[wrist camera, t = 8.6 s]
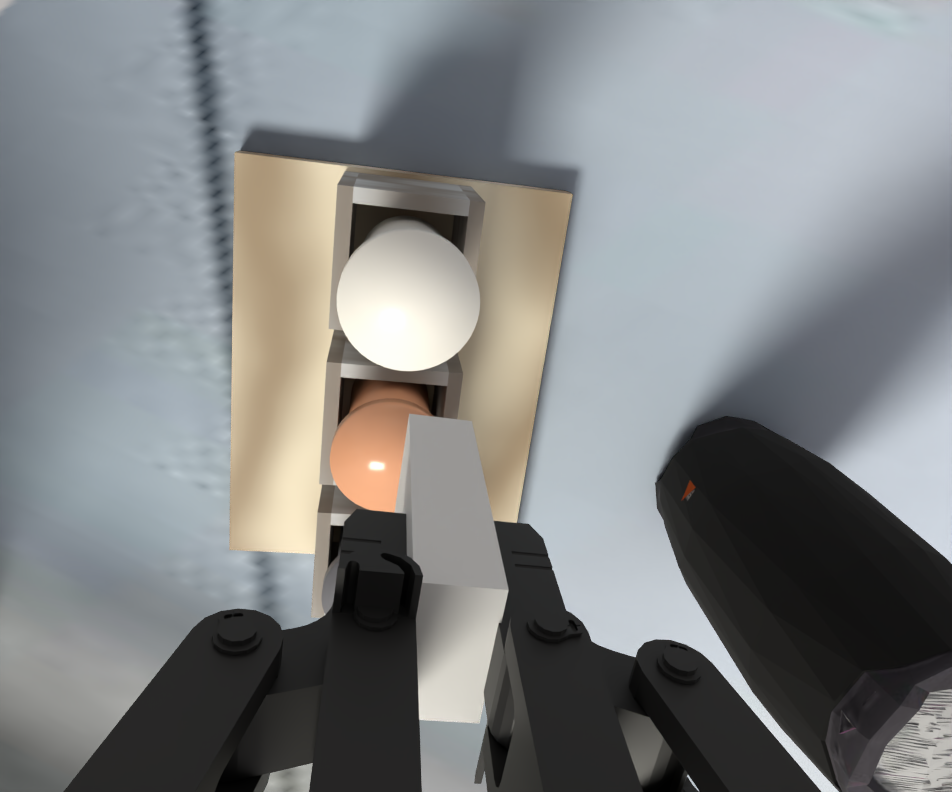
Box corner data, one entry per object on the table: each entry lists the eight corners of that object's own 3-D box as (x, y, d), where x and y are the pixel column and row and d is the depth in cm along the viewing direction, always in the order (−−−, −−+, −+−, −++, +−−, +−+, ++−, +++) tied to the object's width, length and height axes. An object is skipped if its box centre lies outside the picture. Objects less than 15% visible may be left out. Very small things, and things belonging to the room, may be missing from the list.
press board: (233, 537, 40) (205, 617, 34) (239, 150, 33) (205, 163, 27) (506, 551, 43) (526, 628, 36) (567, 191, 35) (604, 211, 29)
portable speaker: (611, 478, 42) (781, 770, 24) (752, 374, 40) (1048, 600, 22) (692, 573, 45) (898, 897, 27) (825, 479, 43) (1140, 755, 25)
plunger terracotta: (337, 436, 36) (326, 509, 30) (343, 345, 34) (333, 401, 28) (432, 443, 37) (442, 515, 30) (443, 354, 35) (455, 411, 29)
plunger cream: (343, 309, 31) (332, 364, 25) (351, 196, 29) (341, 223, 23) (454, 320, 32) (470, 376, 25) (467, 209, 30) (489, 240, 24)
